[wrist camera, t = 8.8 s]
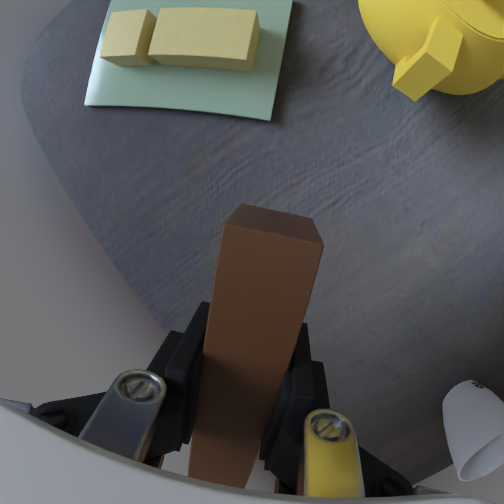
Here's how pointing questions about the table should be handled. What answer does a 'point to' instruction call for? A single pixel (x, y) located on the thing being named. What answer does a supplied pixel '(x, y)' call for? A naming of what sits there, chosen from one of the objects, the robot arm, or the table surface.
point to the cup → (474, 429)
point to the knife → (250, 336)
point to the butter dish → (197, 69)
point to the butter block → (206, 38)
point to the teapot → (439, 43)
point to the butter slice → (129, 38)
